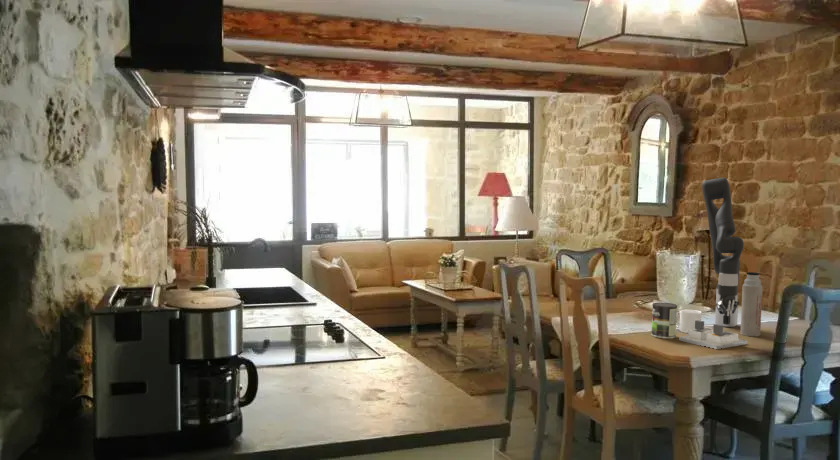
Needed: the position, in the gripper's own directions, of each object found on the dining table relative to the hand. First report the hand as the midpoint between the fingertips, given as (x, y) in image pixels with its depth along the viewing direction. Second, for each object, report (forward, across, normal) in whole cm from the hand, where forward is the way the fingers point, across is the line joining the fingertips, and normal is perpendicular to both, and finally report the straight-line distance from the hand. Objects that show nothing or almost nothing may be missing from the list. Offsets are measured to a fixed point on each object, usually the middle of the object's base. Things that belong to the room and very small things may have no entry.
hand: (726, 324), depth 283 cm
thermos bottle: (+9, -24, -5) cm, 26 cm away
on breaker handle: (+3, +7, -8) cm, 11 cm away
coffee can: (+8, +13, -21) cm, 26 cm away
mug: (+8, -5, -23) cm, 25 cm away
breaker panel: (+8, +4, -3) cm, 10 cm away
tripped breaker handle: (+3, +8, +1) cm, 8 cm away
